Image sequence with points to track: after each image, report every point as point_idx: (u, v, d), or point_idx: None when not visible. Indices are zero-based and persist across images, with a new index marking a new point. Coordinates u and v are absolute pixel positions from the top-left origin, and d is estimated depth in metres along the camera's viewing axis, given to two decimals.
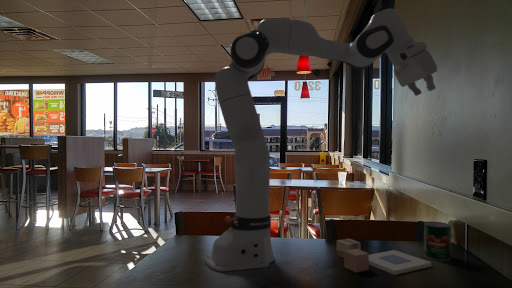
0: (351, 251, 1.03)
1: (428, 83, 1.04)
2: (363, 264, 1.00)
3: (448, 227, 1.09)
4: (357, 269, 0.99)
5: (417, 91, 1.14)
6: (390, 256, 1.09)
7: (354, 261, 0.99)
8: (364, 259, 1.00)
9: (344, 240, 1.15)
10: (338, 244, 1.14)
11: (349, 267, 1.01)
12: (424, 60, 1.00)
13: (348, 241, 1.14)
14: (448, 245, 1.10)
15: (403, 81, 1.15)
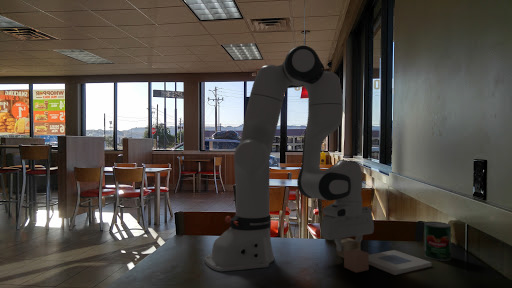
0: (351, 251, 1.03)
1: (336, 243, 1.12)
2: (363, 264, 1.00)
3: (448, 227, 1.09)
4: (357, 269, 0.99)
5: None
6: (390, 256, 1.09)
7: (354, 261, 0.99)
8: (364, 259, 1.00)
9: (344, 240, 1.15)
10: None
11: (349, 267, 1.01)
12: (324, 224, 1.10)
13: (348, 241, 1.14)
14: (448, 245, 1.09)
15: None
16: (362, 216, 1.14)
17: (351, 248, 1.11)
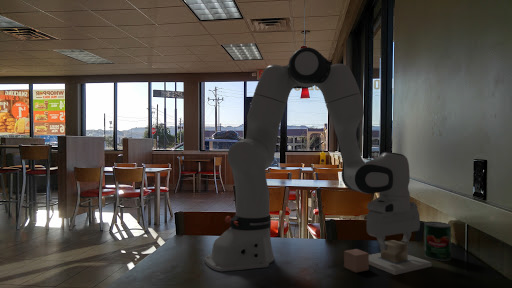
0: (351, 251, 1.03)
1: (379, 241, 1.05)
2: (363, 264, 1.00)
3: (448, 227, 1.09)
4: (357, 269, 0.99)
5: (402, 242, 1.09)
6: None
7: (354, 261, 0.99)
8: (364, 259, 1.00)
9: (389, 242, 1.08)
10: None
11: (349, 267, 1.01)
12: (370, 221, 1.03)
13: (394, 243, 1.07)
14: (448, 245, 1.10)
15: None
16: (408, 212, 1.07)
17: (398, 251, 1.04)
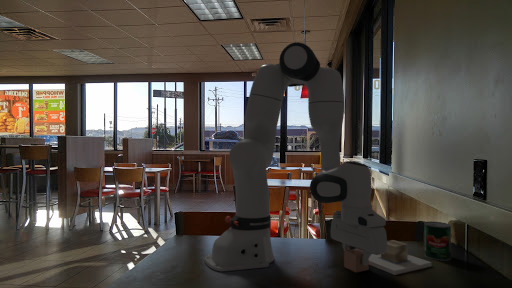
0: (351, 251, 1.03)
1: (365, 257, 0.98)
2: None
3: (448, 227, 1.09)
4: (357, 269, 0.99)
5: None
6: None
7: (354, 260, 0.99)
8: None
9: (389, 242, 1.08)
10: None
11: (349, 267, 1.01)
12: (380, 238, 0.93)
13: (394, 243, 1.07)
14: (448, 245, 1.10)
15: (339, 236, 1.06)
16: None
17: (398, 251, 1.04)
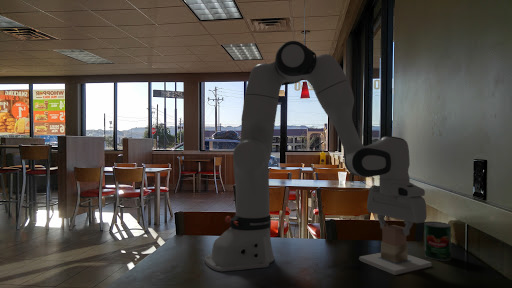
0: (389, 226, 1.07)
1: (407, 227, 1.02)
2: (401, 238, 1.05)
3: (448, 227, 1.09)
4: (396, 243, 1.04)
5: (385, 225, 1.10)
6: None
7: (393, 235, 1.04)
8: None
9: None
10: (383, 246, 1.07)
11: (388, 241, 1.06)
12: (420, 207, 0.98)
13: None
14: (448, 245, 1.10)
15: (376, 208, 1.11)
16: None
17: (398, 251, 1.04)
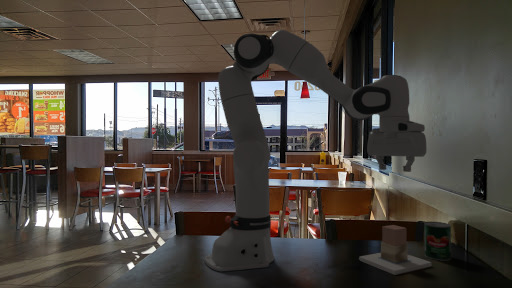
0: (389, 226, 1.07)
1: (408, 163, 1.01)
2: (401, 238, 1.05)
3: (448, 227, 1.09)
4: (396, 243, 1.04)
5: (383, 166, 1.10)
6: None
7: (393, 235, 1.04)
8: (402, 233, 1.05)
9: None
10: (383, 246, 1.07)
11: (388, 241, 1.06)
12: (420, 141, 0.98)
13: None
14: (448, 245, 1.10)
15: (376, 150, 1.11)
16: None
17: (398, 251, 1.04)
